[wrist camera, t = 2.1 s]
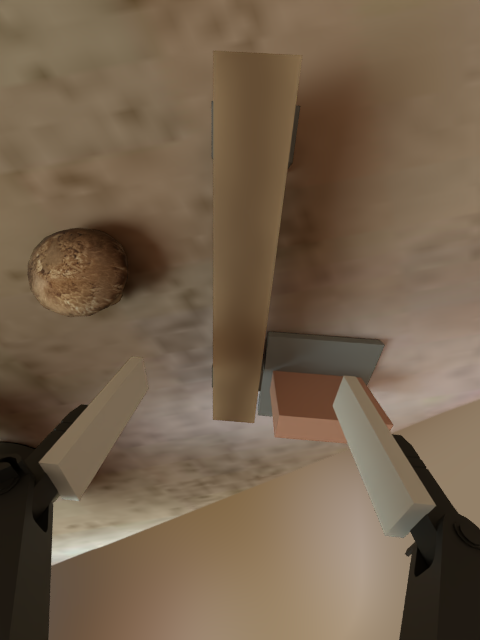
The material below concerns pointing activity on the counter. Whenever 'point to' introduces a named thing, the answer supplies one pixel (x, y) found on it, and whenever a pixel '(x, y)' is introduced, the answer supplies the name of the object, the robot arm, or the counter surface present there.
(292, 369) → the fulcrum
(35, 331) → the counter surface
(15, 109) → the counter surface
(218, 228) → the rod
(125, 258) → the mushroom
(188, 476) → the counter surface
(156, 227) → the counter surface
